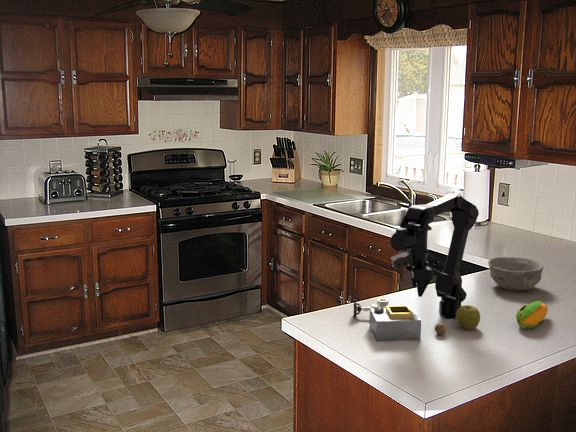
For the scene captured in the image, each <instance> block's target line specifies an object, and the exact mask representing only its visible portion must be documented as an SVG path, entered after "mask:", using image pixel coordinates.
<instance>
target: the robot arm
mask: <svg viewBox="0 0 576 432" xmlns="http://www.w3.org/2000/svg"><path fill="white" fill-rule="evenodd" d="M448 211H449V212H450V213H451V218H450V219H451V222H452V225H453V230H452V235H451V240H450V244H449V248H448V253H447V258H446V262H445V265H444V269H443V270H442V271H441V272H440V271H438V273H437V274H436V279H435V282H434V284H435V285H434V289H435V292H436V296H437V297H438V298H440V301H439V303H438V304H439V306H438V313H439V314H440V315H441V316H442V318H444V319H456V311H457V309H458V308H459V307H460V306H462V303H463V302H464V301H465V300H466V298H467V295H468V294H467V292H466V291H465V289H464V288H463V286H462V285H463V279H462V275H461V272H460V271H461V267H462V262H463V258H464V253H465V248H466V245H467V241H468V240H467V239H468V236H469V233H470V232H469V231H470V230H471V229H472V228H473V227H474V226H475V225H476V222H477V219H478V216H479V215H480V214H479V213H480V212H479V209H478V207H477V206H476V205H475V204H474V203H472V202H470V201H468V200H467V199H465V198H464V197H463V195H460V194H457V193H447V194H446V195H445V196H443V197H440V198H438V199H435V200H434V201H431V202H429V203H426V204H415V205H411V206H409V207H408V208H407V210H406V212H405V214H404V216H403V218H402V221H401V223H400V225H399V228H396V229H395V232H394V233H392V235H391V237H390V245H391V248H392V249H393V250H395V251H396V252H400V253H398V254H395V255H392V256H391V257H390V260H391V262H392V266H393V267H394V269H395V270H399V269H401V268H403V267H404V268H405V269H406V270H407V271H408V272H409V273H408V274H409V276H410V283H411V285H412V288H413V289H414V288H416V291H417V296H418V297H419V298H422V297H423V295H424V294H425V291H426V289H427V288H428V286H429V284H430V282H431V281H432V280H433V279H434V273H435V272H434V271H433V270H432V268H431V267H429V262H428V254H429V251H430V250H429V249H428V236H429V235H428V231H431V230H432V229H433V228H432V226H430V224H431V223H432V222H434V220H435V218H436V217H437V216H439V215H441V214H444V213H446V212H448ZM404 250H406V251H404ZM401 251H404V252H401Z"/></svg>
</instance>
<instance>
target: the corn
mask: <svg viewBox="0 0 576 432" xmlns="http://www.w3.org/2000/svg"><path fill="white" fill-rule="evenodd" d="M548 307H549V306H548V305H547V304H545V303H543V301H542V300H536V301H533V302H531V303H529V304H528V305H527V304H526V305H523V306H521V307H519V309H518V310H517V311H516V314H515V319H516V322H517V325H518V326H519V327H520V328H522V327H523V328H525V329H526V330H529V329H535V328H537V327H538V326H540V325H541V324H543V322H545V319H544V318H545V317H547V313H548V311H549V309H548Z"/></svg>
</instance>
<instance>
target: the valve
mask: <svg viewBox="0 0 576 432" xmlns="http://www.w3.org/2000/svg"><path fill="white" fill-rule="evenodd" d="M357 300H358V299H355V298H353V318H354V317H356V318H357V317H358V316H359V314H360V313H361V312H362V311H364V312H369V311H370V308H375V307H383V308H386V306H389V300H388V299H387V298H384V297H383V298H377V301H376V304H377V305H375V304H371V305H370V306H369V305H364V306H363V307H362V305H361V304H360V303H358V301H357ZM357 315H358V316H357Z"/></svg>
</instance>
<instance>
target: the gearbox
mask: <svg viewBox="0 0 576 432" xmlns="http://www.w3.org/2000/svg"><path fill="white" fill-rule="evenodd" d="M369 329H370V331H371V333H373V334H372V335H373V337H374V340H375V342H394V341H395V342H402V341H403V342H404V341H405V342H406V341H421V340H422V339H421V338H422V337H421V336H422V335H421V334H422V319H421V318H420V316H419V314H418V313H417V312H416V311H415V309H414V308H413V307H412V306H409V305H404V304H403V305H388V306H386V308H383V307H375V308H370V310H369Z"/></svg>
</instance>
